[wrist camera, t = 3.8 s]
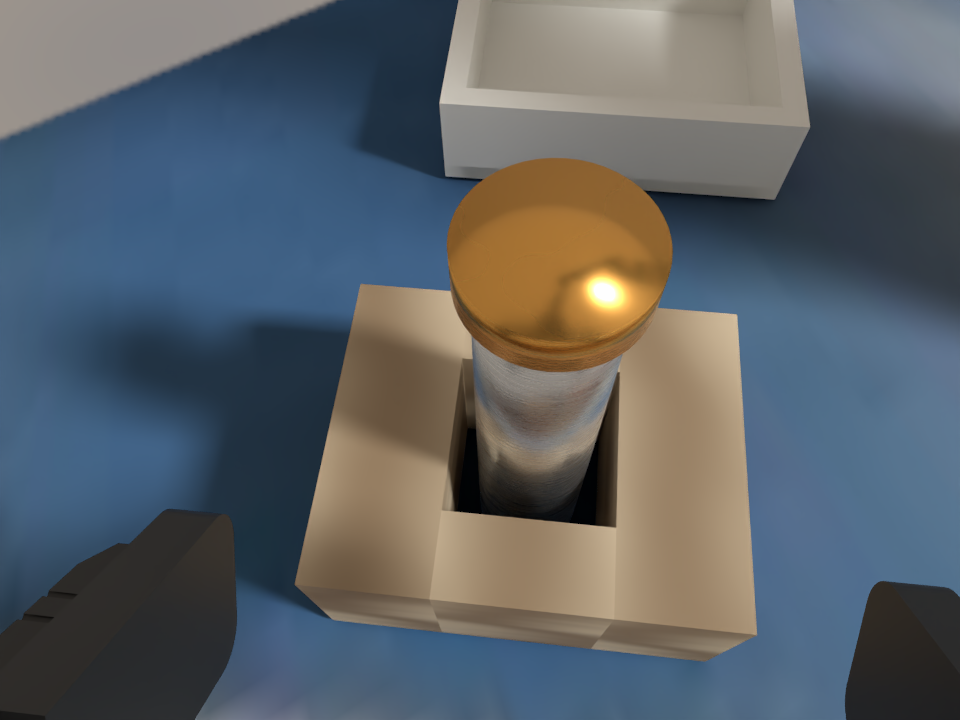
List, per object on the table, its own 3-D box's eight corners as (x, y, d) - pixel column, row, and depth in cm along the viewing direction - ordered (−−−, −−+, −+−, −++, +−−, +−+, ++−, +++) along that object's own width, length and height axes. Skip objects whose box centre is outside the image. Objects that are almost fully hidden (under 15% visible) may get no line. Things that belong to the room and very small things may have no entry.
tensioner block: (696, 390, 24) (737, 314, 20) (705, 661, 20) (757, 634, 16) (382, 362, 24) (360, 283, 20) (332, 619, 21) (294, 584, 17)
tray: (756, 16, 32) (784, -64, 29) (774, 199, 27) (810, 127, 24) (475, 1, 33) (473, -79, 30) (445, 176, 28) (439, 103, 25)
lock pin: (588, 448, 23) (671, 165, 12) (583, 561, 21) (673, 349, 11) (476, 438, 23) (461, 151, 12) (463, 548, 21) (432, 329, 11)
